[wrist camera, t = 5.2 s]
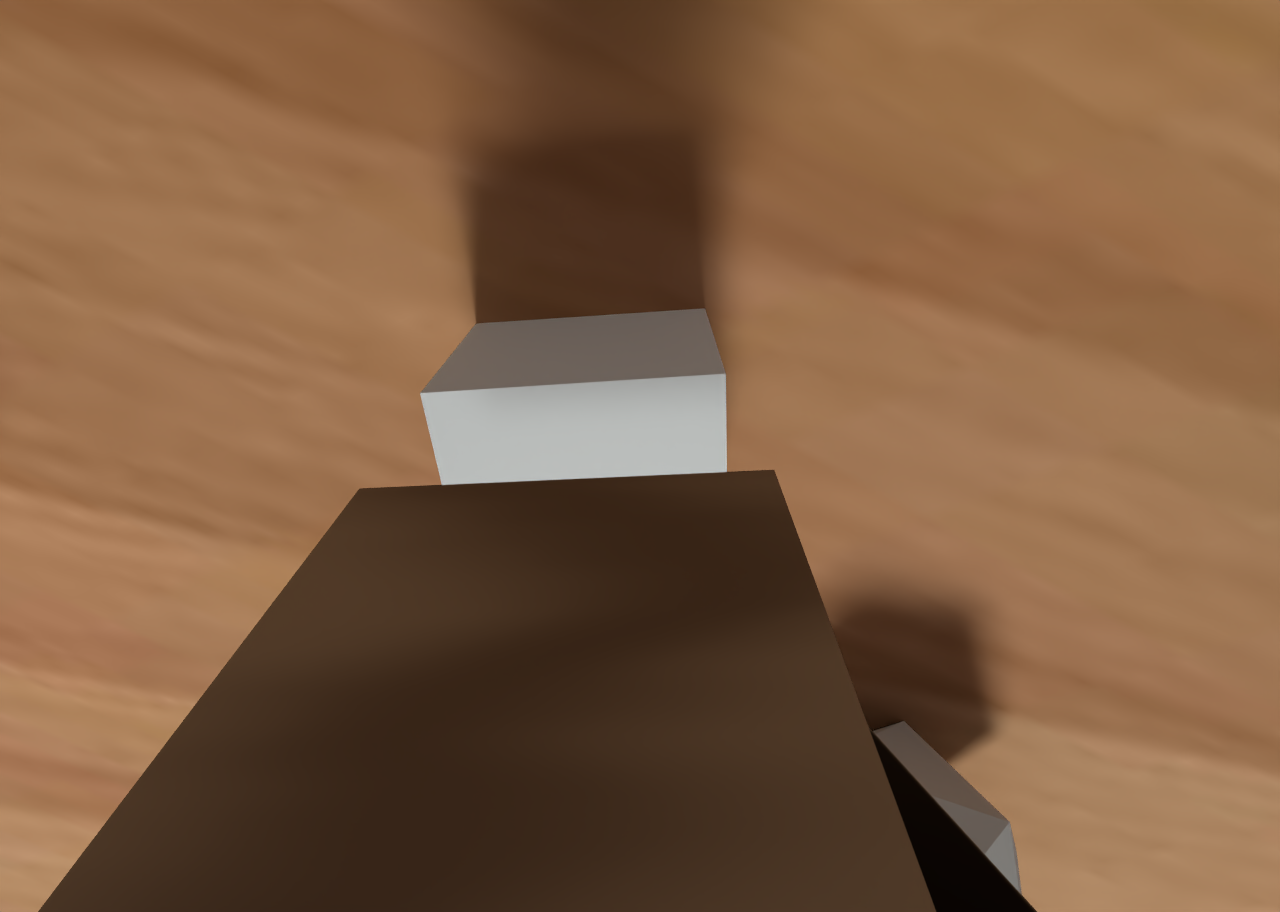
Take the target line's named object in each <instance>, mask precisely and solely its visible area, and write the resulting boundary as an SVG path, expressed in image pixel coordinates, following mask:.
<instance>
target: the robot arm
mask: <svg viewBox="0 0 1280 912" xmlns="http://www.w3.org/2000/svg"><path fill="white" fill-rule="evenodd" d="M869 730H870V733H871V735H872V738H873V741H874V743H875V746H876V749H877V752H878V754H879V757H880V760H881V763H882V765H883V768H884V771H885V773H886V776H887V779H888V782H889V784H890V787H891V790H892V792H893V795H894V798H895V801H896V803H897V806H898V809H899V812H900V814H901V817H902V820H903V822H904V825H905V828H906V831H907V833H908V836H909V839H910V842H911V844H912V847H913V850H914V852H915V855H916V858H917V861H918V863H919V866H920V869H921V871H922V874H923V877H924V880H925V882H926V885H927V888H928V891H929V893H930V896H931V899H932V901H933V904H934V907H935V910H936V912H1037V911H1036V910H1035V909H1034V908H1033V907H1032V906H1031V905H1030V904H1029V902H1028V901H1027V900H1026V899H1025V898H1024V897H1023V896H1022V895H1021V894H1020V893H1019V891H1018V890H1017V889H1016V888H1015V887H1014V886H1013V885H1012V884H1011V883H1010V882H1009V880H1008V879H1007V878H1006V877H1005V876H1004V875H1003V874H1002V873H1001V872H1000V871H999V869H998V868H997V867H996V866H995V865H994V864H993V863H992V862H991V861H990V860H989V858H988V857H987V856H986V855H985V854H984V853H983V852H982V851H981V850H980V849H979V847H978V846H977V845H976V844H975V843H974V842H973V841H972V840H971V839H970V838H969V837H968V835H967V834H966V833H965V832H964V831H963V830H962V829H961V828H960V827H959V826H958V824H957V823H956V822H955V821H954V820H953V819H952V818H951V817H950V816H949V815H948V813H947V812H946V811H945V810H944V809H943V808H942V807H941V806H940V805H939V804H938V802H937V801H936V800H935V799H934V798H933V797H932V796H931V795H930V794H929V793H928V791H927V790H926V789H925V788H924V787H923V786H922V785H921V784H920V783H919V782H918V780H917V779H916V778H915V777H914V776H913V775H912V774H911V773H910V772H909V771H908V770H907V768H906V767H905V766H904V765H903V764H902V763H901V762H900V761H899V760H898V759H897V757H896V756H895V755H894V754H893V753H892V752H891V751H890V750H889V749H888V748H887V746H886V745H885V744H884V743H883V742H882V741H881V740H880V739H879V738H878V737H877V735H876V734H875V733H874V732H873V731H872V730H871V729H870V728H869Z"/></svg>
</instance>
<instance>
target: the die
mask: <svg viewBox="0 0 1280 912" xmlns="http://www.w3.org/2000/svg"><path fill="white" fill-rule="evenodd" d="M873 732H874V733H875V734H876V735H877V737H878V738H879V739H880V740H881V741H882V742H883V743H884V744H885V745H886V746H887V748H888V749H889V750H890V751H891V752H892V753H893V754H894V755H895V756H896V757H897V759H898V760H899V761H900V762H901V763H902V764H903V765H904V766H905V767H906V768H907V770H908V771H909V772H910V773H911V774H912V775H913V776H914V777H915V778H916V779H917V780H918V782H919V783H920V784H921V785H922V786H923V787H924V788H925V789H926V790H927V791H928V793H929V794H930V795H931V796H932V797H933V798H934V799H935V800H936V801H937V802H938V804H939V805H940V806H941V807H942V808H943V809H944V810H945V811H946V812H947V813H948V815H949V816H950V817H951V818H952V819H953V820H954V821H955V822H956V823H957V824H958V826H959V827H960V828H961V829H962V830H963V831H964V832H965V833H966V834H967V835H968V837H969V838H970V839H971V840H972V841H973V842H974V843H975V844H976V845H977V846H978V847H979V849H980V850H981V851H982V852H983V853H984V854H985V855H986V856H987V857H988V858H989V860H990V861H991V862H992V863H993V864H994V865H995V866H996V867H997V868H998V869H999V871H1000V872H1001V873H1002V874H1003V875H1004V876H1005V877H1006V878H1007V879H1008V880H1009V882H1010V883H1011V884H1012V885H1013V886H1014V887H1015V888H1016V889H1017V890H1018V891H1019V893H1020V894H1021V895H1022V893H1021V885H1020V877H1019V868H1018V860H1017V852H1016V848H1015V843H1014V839H1013V834H1012V830H1011V826H1010V822H1009V821H1008V820H1007V819H1006V818H1005V817H1004V816H1003V815H1002V814H1001V813H1000V812H999V811H998V810H997V809H996V808H994V807H993V806H992V805H991V804H990V803H989V802H988V801H987V800H986V799H985V798H984V797H983V796H982V795H981V794H980V793H979V792H978V791H977V790H976V789H975V788H974V787H973V786H971V785H970V784H969V783H968V782H967V781H966V780H965V779H964V778H963V777H962V776H961V775H960V774H959V773H958V772H957V771H956V770H955V769H954V768H953V767H952V766H951V765H950V764H948V763H947V762H946V761H945V760H944V759H943V758H942V757H941V756H940V755H939V754H938V753H937V752H936V751H935V750H934V749H933V748H932V747H931V746H930V745H929V744H928V743H927V742H925V741H924V740H923V739H922V738H921V737H920V736H919V735H918V734H917V733H916V732H915V731H914V730H913V729H912V728H911V727H910V726H909V725H908V724H907V723H906V722H905V721H902V722H899V723H896V724H893V725H890V726H887V727H884V728H881V729H878V730H875V731H873Z"/></svg>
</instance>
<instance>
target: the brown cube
mask: <svg viewBox="0 0 1280 912" xmlns="http://www.w3.org/2000/svg"><path fill="white" fill-rule="evenodd" d="M38 912H936V910H935V907H934V904H933V901H932V899H931V896H930V893H929V891H928V888H927V885H926V882H925V880H924V877H923V874H922V871H921V869H920V866H919V863H918V861H917V858H916V855H915V852H914V850H913V847H912V844H911V842H910V839H909V836H908V833H907V831H906V828H905V825H904V822H903V820H902V817H901V814H900V812H899V809H898V806H897V803H896V801H895V798H894V795H893V792H892V790H891V787H890V784H889V782H888V779H887V776H886V773H885V771H884V768H883V765H882V763H881V760H880V757H879V754H878V752H877V749H876V746H875V743H874V741H873V738H872V735H871V733H870V730H869V727H868V724H867V722H866V719H865V716H864V713H863V711H862V708H861V705H860V703H859V700H858V697H857V694H856V692H855V689H854V686H853V684H852V681H851V678H850V675H849V673H848V670H847V667H846V664H845V662H844V659H843V656H842V654H841V651H840V648H839V645H838V643H837V640H836V637H835V635H834V632H833V629H832V626H831V624H830V621H829V618H828V615H827V613H826V610H825V607H824V605H823V602H822V599H821V596H820V594H819V591H818V588H817V585H816V583H815V580H814V577H813V575H812V572H811V569H810V566H809V564H808V561H807V558H806V556H805V553H804V550H803V547H802V545H801V542H800V539H799V536H798V534H797V531H796V528H795V526H794V523H793V520H792V517H791V515H790V512H789V509H788V506H787V504H786V501H785V498H784V496H783V493H782V490H781V487H780V485H779V482H778V479H777V477H776V474H775V471H774V470H760V471H738V472H715V473H693V474H671V475H649V476H627V477H605V478H583V479H561V480H539V481H517V482H495V483H473V484H450V485H428V486H406V487H384V488H362V489H359V490H358V491H357V493H356V494H355V495H354V497H353V498H352V499H351V501H350V502H349V503H348V505H347V506H346V507H345V508H344V510H343V511H342V512H341V514H340V515H339V516H338V518H337V519H336V520H335V522H334V523H333V524H332V526H331V527H330V528H329V530H328V531H327V532H326V533H325V535H324V536H323V537H322V539H321V540H320V541H319V543H318V544H317V545H316V547H315V548H314V549H313V551H312V552H311V553H310V555H309V556H308V557H307V558H306V560H305V561H304V562H303V564H302V565H301V566H300V568H299V569H298V570H297V572H296V573H295V574H294V576H293V577H292V578H291V580H290V581H289V582H288V584H287V585H286V586H285V587H284V589H283V590H282V591H281V593H280V594H279V595H278V597H277V598H276V599H275V601H274V602H273V603H272V605H271V606H270V607H269V609H268V610H267V611H266V612H265V614H264V615H263V616H262V618H261V619H260V620H259V622H258V623H257V624H256V626H255V627H254V628H253V630H252V631H251V632H250V634H249V635H248V636H247V637H246V639H245V640H244V641H243V643H242V644H241V645H240V647H239V648H238V649H237V651H236V652H235V653H234V655H233V656H232V657H231V659H230V660H229V661H228V662H227V664H226V665H225V666H224V668H223V669H222V670H221V672H220V673H219V674H218V676H217V677H216V678H215V680H214V681H213V682H212V684H211V685H210V686H209V688H208V689H207V690H206V691H205V693H204V694H203V695H202V697H201V698H200V699H199V701H198V702H197V703H196V705H195V706H194V707H193V709H192V710H191V711H190V713H189V714H188V715H187V716H186V718H185V719H184V720H183V722H182V723H181V724H180V726H179V727H178V728H177V730H176V731H175V732H174V734H173V735H172V736H171V738H170V739H169V740H168V741H167V743H166V744H165V745H164V747H163V748H162V749H161V751H160V752H159V753H158V755H157V756H156V757H155V759H154V760H153V761H152V763H151V764H150V765H149V767H148V768H147V769H146V770H145V772H144V773H143V774H142V776H141V777H140V778H139V780H138V781H137V782H136V784H135V785H134V786H133V788H132V789H131V790H130V792H129V793H128V794H127V795H126V797H125V798H124V799H123V801H122V802H121V803H120V805H119V806H118V807H117V809H116V810H115V811H114V813H113V814H112V815H111V817H110V818H109V819H108V820H107V822H106V823H105V824H104V826H103V827H102V828H101V830H100V831H99V832H98V834H97V835H96V836H95V838H94V839H93V840H92V842H91V843H90V844H89V846H88V847H87V848H86V849H85V851H84V852H83V853H82V855H81V856H80V857H79V859H78V860H77V861H76V863H75V864H74V865H73V867H72V868H71V869H70V871H69V872H68V873H67V874H66V876H65V877H64V878H63V880H62V881H61V882H60V884H59V885H58V886H57V888H56V889H55V890H54V892H53V893H52V894H51V896H50V897H49V898H48V899H47V901H46V902H45V903H44V905H43V906H42V907H41V909H40V910H39V911H38Z"/></svg>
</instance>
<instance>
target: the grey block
mask: <svg viewBox="0 0 1280 912" xmlns="http://www.w3.org/2000/svg"><path fill="white" fill-rule="evenodd" d="M420 394H421V398H422V403H423V407H424V411H425V415H426V420H427V424H428V428H429V432H430V436H431V441H432V445H433V449H434V453H435V458H436V462H437V466H438V470H439V474H440V479H441V483H442V485H450V484H473V483H495V482H517V481H539V480H561V479H583V478H605V477H627V476H649V475H671V474H693V473H715V472H727V443H726V373H725V370H724V367H723V363H722V360H721V357H720V354H719V351H718V348H717V345H716V341H715V338H714V335H713V332H712V329H711V326H710V323H709V319H708V316H707V313H706V310H705V308H703V309H688V310H673V311H658V312H642V313H627V314H612V315H597V316H582V317H567V318H552V319H537V320H522V321H507V322H492V323H477V324H475V325H474V327H473V328H472V329H471V330H470V332H469V333H468V334H467V335H466V337H465V338H464V339H463V340H462V342H461V343H460V344H459V345H458V347H457V348H456V349H455V350H454V352H453V353H452V354H451V355H450V357H449V358H448V359H447V360H446V362H445V363H444V364H443V365H442V367H441V368H440V369H439V370H438V372H437V373H436V374H435V375H434V377H433V378H432V379H431V380H430V382H429V383H428V384H427V385H426V387H425V388H424V389H423V390H422V392H421V393H420Z"/></svg>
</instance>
